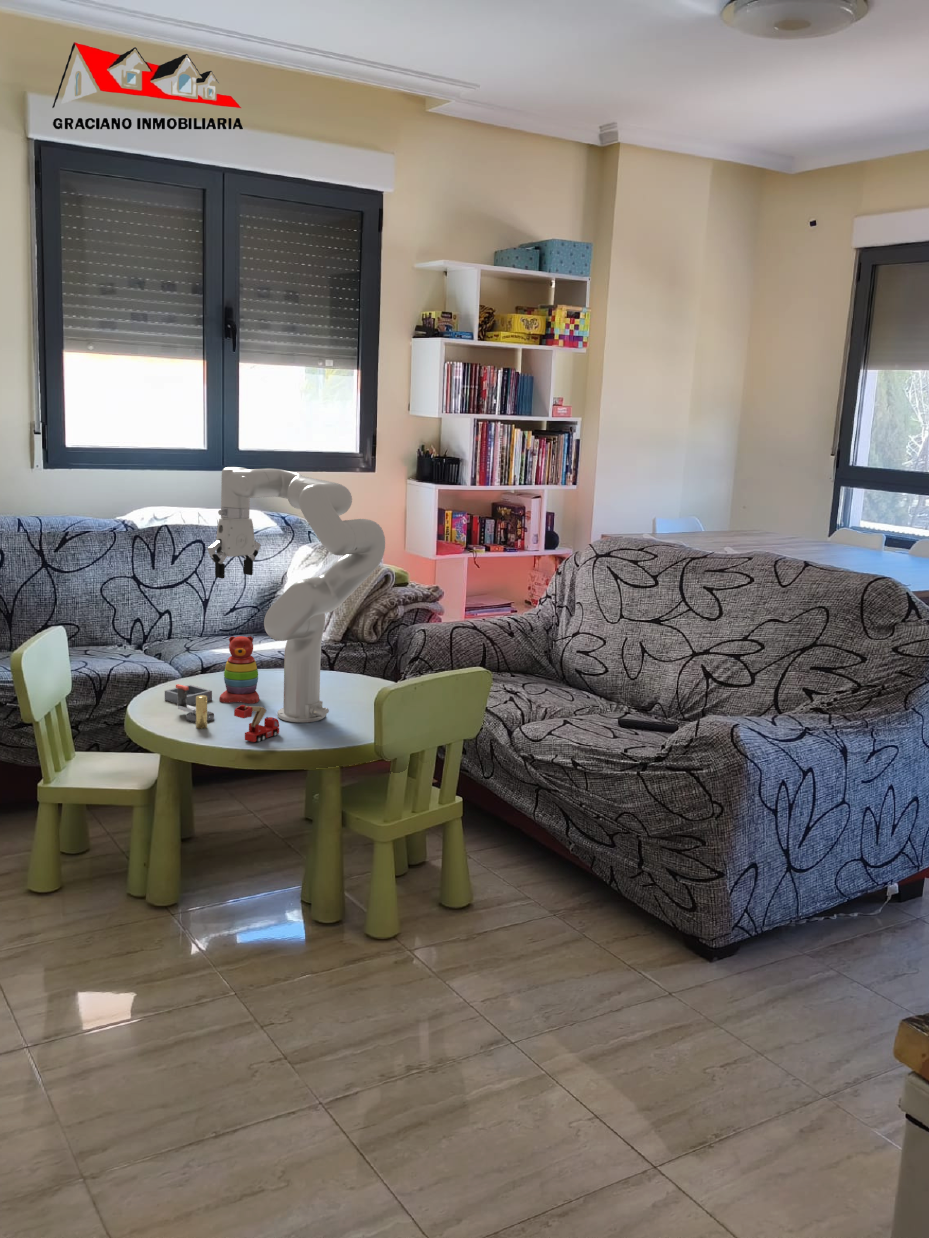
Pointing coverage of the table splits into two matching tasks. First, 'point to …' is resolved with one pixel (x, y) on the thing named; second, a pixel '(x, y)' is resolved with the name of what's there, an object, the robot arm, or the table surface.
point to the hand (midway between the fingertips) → (234, 576)
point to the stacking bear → (240, 672)
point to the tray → (188, 694)
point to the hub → (192, 718)
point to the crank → (184, 699)
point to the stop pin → (201, 712)
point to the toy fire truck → (257, 723)
